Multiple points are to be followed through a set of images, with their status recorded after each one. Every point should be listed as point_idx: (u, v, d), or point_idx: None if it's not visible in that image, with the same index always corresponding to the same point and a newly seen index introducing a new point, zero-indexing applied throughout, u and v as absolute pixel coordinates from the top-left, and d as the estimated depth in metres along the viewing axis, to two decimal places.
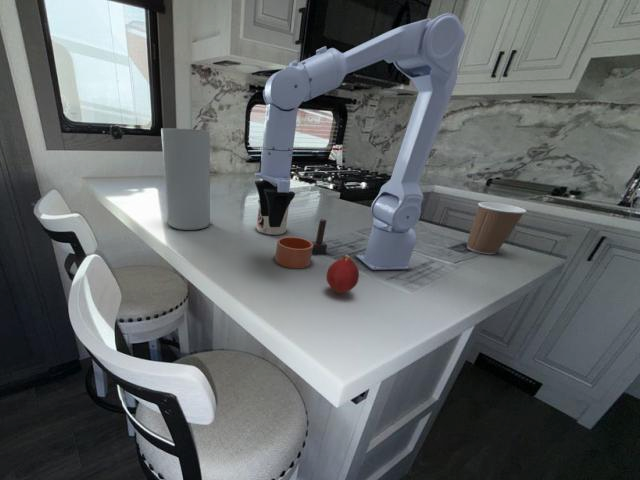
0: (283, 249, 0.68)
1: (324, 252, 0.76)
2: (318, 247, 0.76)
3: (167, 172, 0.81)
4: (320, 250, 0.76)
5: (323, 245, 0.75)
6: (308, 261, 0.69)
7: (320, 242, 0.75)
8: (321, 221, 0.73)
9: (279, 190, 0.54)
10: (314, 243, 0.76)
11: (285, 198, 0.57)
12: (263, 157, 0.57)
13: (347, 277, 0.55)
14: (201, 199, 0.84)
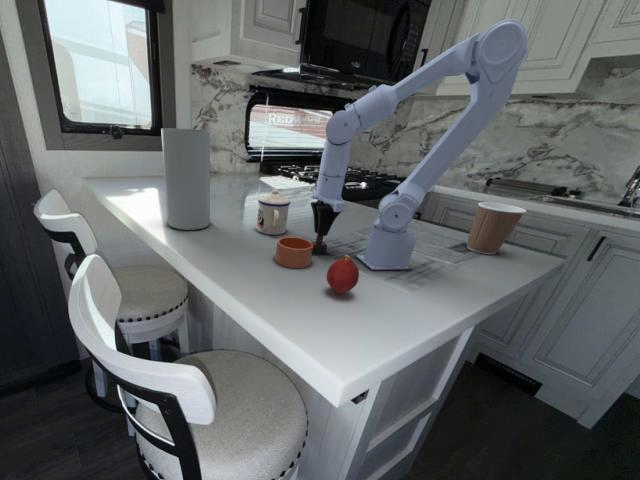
0: (283, 249, 0.68)
1: (324, 252, 0.76)
2: (318, 247, 0.76)
3: (167, 172, 0.81)
4: (320, 250, 0.76)
5: (323, 245, 0.75)
6: (308, 261, 0.69)
7: (320, 242, 0.75)
8: None
9: (336, 210, 0.65)
10: (314, 243, 0.76)
11: (333, 213, 0.70)
12: (320, 182, 0.68)
13: (347, 277, 0.55)
14: (201, 199, 0.84)
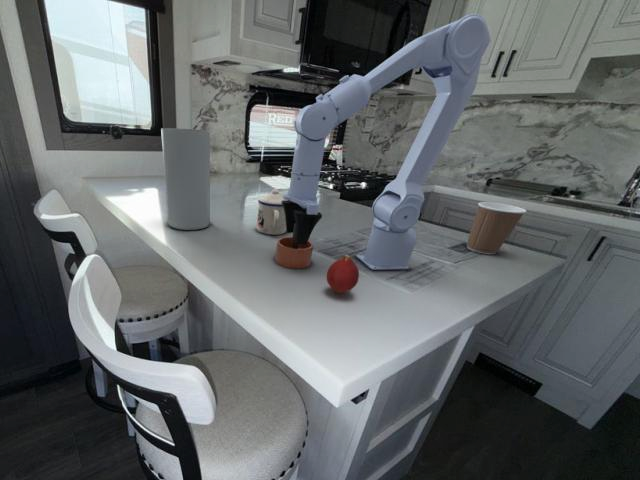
0: (283, 249, 0.68)
1: None
2: None
3: (167, 172, 0.81)
4: None
5: None
6: (308, 261, 0.69)
7: (295, 248, 0.70)
8: (295, 225, 0.67)
9: (308, 212, 0.59)
10: None
11: (312, 219, 0.62)
12: (292, 181, 0.62)
13: (347, 277, 0.55)
14: (201, 199, 0.84)
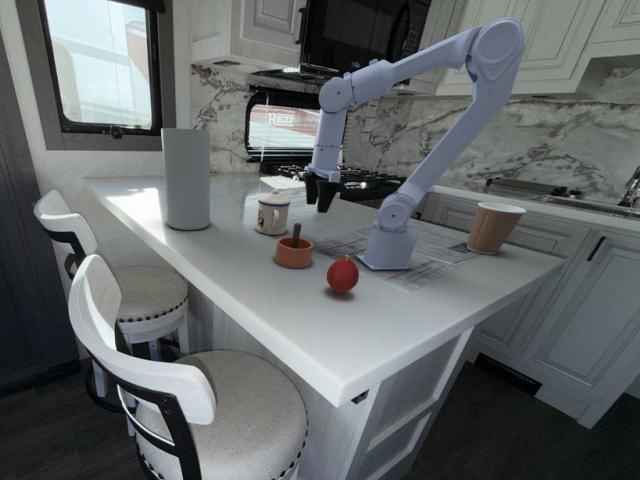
0: (283, 249, 0.68)
1: None
2: None
3: (167, 172, 0.81)
4: None
5: None
6: (308, 261, 0.69)
7: (295, 248, 0.70)
8: (295, 225, 0.67)
9: (331, 180, 0.64)
10: None
11: (334, 187, 0.68)
12: (315, 153, 0.67)
13: (347, 277, 0.55)
14: (201, 199, 0.84)
